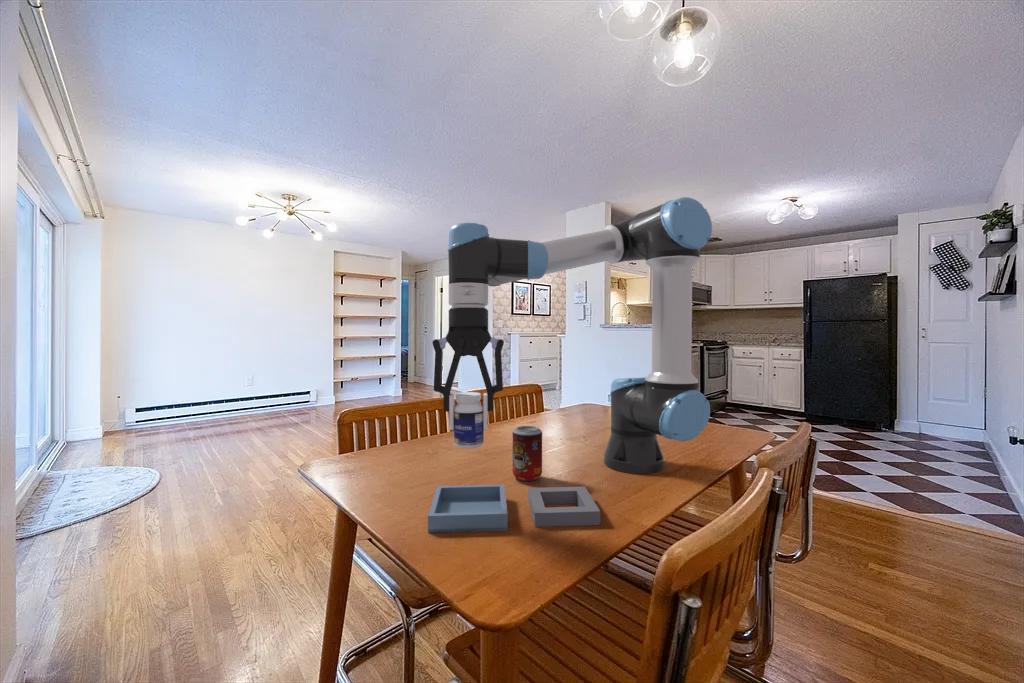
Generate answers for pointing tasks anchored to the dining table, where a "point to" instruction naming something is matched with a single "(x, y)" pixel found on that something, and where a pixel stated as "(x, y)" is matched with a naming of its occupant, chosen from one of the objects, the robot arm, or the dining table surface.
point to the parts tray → (468, 509)
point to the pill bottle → (468, 421)
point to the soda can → (527, 454)
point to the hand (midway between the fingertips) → (468, 427)
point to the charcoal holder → (562, 515)
